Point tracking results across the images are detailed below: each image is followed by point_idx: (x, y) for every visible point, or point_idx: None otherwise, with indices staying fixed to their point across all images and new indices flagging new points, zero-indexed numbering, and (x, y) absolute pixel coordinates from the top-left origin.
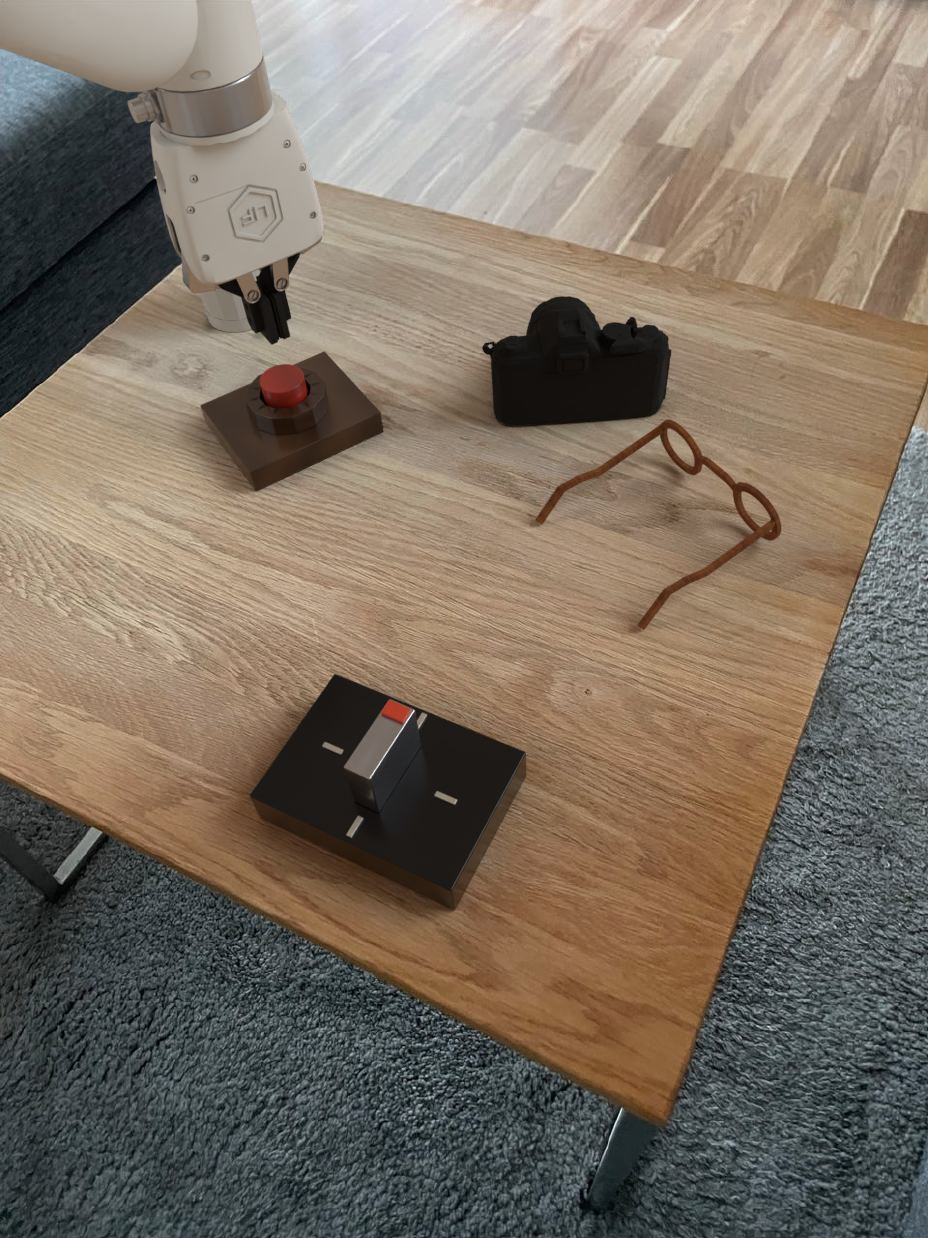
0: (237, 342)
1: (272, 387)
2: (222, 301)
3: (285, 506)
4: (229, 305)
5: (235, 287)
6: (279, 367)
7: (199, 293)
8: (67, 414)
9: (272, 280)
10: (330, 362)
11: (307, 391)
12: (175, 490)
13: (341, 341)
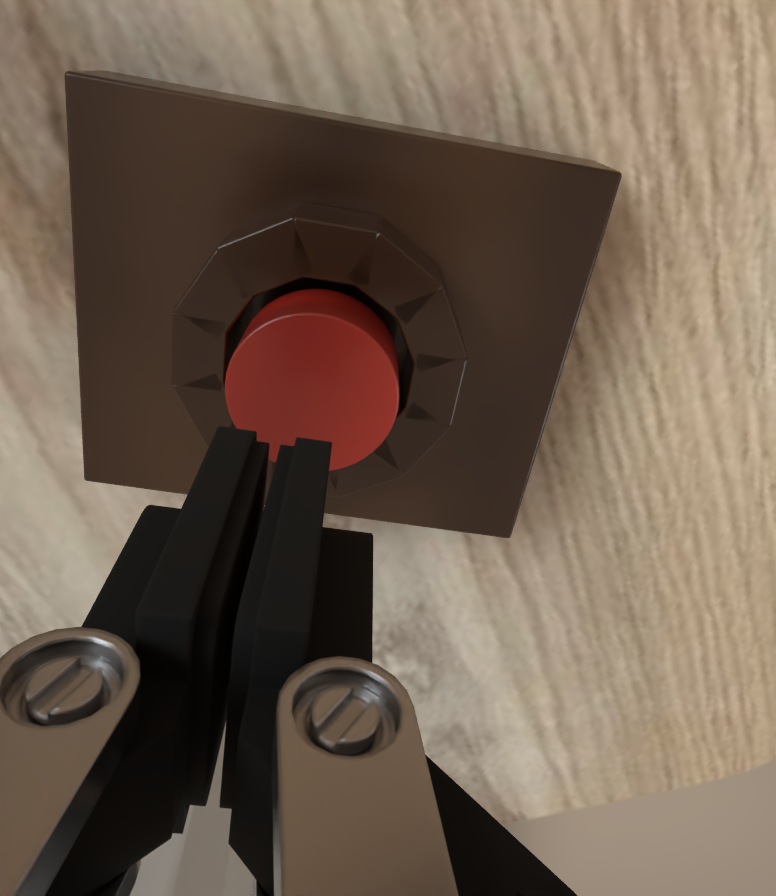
0: None
1: (371, 378)
2: None
3: (583, 18)
4: (218, 766)
5: (454, 849)
6: None
7: None
8: (685, 720)
9: (119, 744)
10: (94, 426)
11: None
12: (733, 351)
13: (18, 512)
